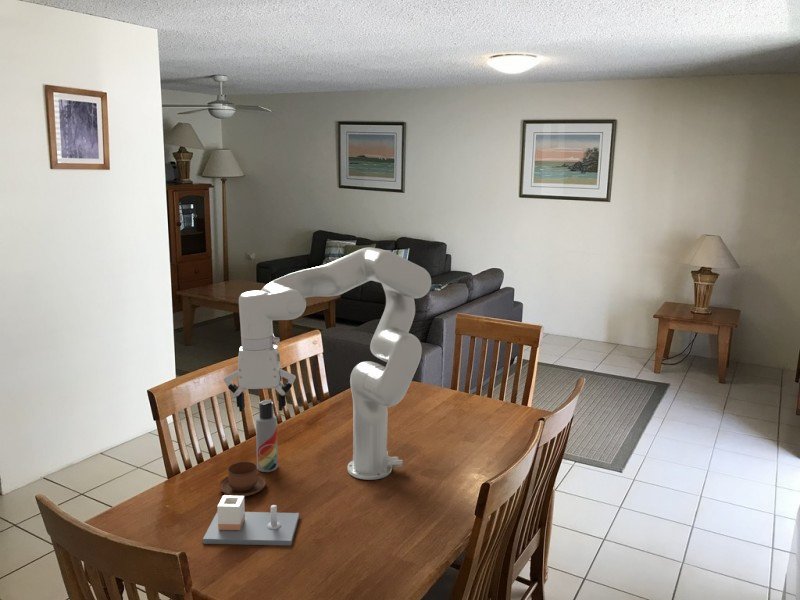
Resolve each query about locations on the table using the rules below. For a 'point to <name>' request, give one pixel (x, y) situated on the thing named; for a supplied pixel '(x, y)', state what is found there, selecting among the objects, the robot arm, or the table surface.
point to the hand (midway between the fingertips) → (261, 409)
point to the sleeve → (231, 512)
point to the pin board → (256, 529)
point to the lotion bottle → (266, 437)
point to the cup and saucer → (242, 480)
